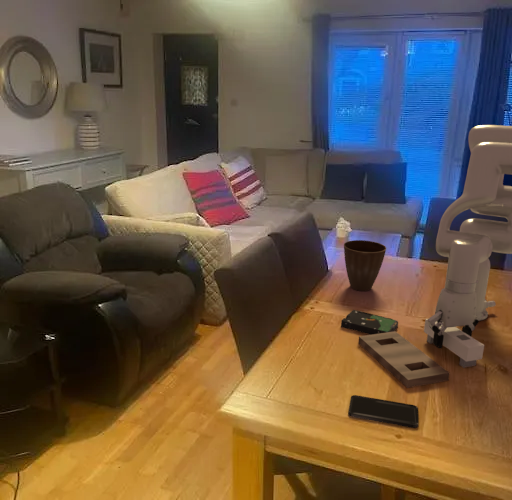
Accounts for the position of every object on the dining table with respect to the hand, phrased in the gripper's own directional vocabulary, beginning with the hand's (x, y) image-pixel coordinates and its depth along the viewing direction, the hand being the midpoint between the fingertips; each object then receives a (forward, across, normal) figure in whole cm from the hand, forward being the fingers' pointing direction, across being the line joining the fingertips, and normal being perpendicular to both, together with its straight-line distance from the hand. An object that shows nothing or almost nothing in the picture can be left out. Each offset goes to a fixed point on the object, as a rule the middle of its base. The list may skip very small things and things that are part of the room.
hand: (451, 343), depth 142 cm
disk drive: (+3, +13, -21) cm, 25 cm away
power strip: (+3, 0, 0) cm, 3 cm away
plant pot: (+3, -1, -51) cm, 51 cm away
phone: (+3, +33, +19) cm, 38 cm away
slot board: (+3, +16, 0) cm, 16 cm away
